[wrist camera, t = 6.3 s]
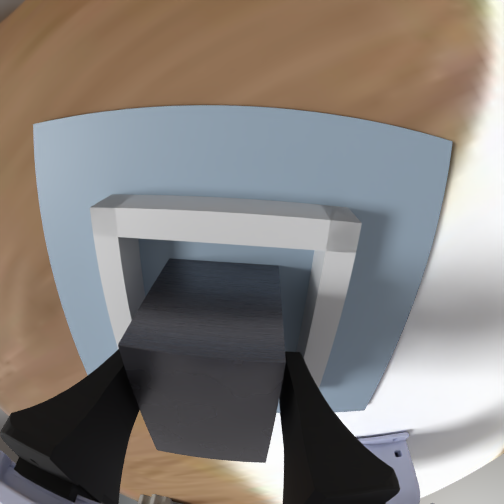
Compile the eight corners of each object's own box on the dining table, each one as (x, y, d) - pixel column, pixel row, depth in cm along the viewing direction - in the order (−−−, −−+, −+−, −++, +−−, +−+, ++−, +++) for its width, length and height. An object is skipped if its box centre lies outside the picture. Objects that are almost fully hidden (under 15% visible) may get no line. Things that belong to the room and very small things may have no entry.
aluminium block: (278, 265, 13) (285, 362, 8) (266, 372, 16) (265, 462, 11) (169, 258, 14) (117, 344, 8) (181, 364, 16) (156, 450, 11)
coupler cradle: (446, 140, 11) (478, 147, 9) (362, 405, 19) (369, 432, 16) (39, 123, 11) (7, 128, 9) (94, 380, 19) (82, 404, 16)
